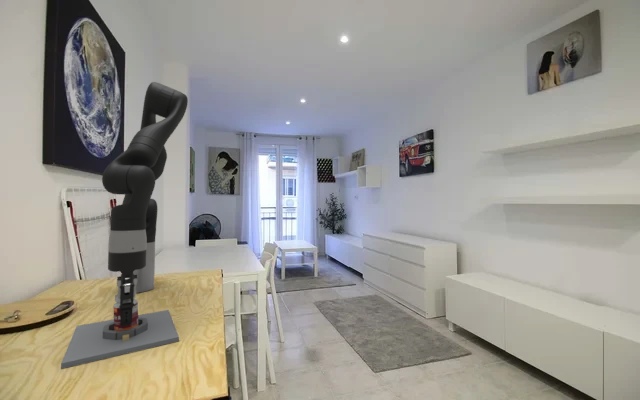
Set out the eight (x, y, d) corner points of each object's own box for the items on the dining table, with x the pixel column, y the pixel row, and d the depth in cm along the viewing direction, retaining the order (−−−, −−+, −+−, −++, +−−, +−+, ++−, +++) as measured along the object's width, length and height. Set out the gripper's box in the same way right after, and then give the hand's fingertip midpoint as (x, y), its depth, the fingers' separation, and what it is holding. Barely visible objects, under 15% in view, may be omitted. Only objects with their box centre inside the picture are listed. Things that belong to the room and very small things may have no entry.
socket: (76, 329, 70) (76, 319, 70) (168, 313, 81) (168, 304, 81) (60, 368, 53) (61, 355, 53) (178, 341, 64) (179, 330, 64)
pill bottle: (109, 333, 65) (107, 297, 65) (125, 324, 70) (124, 290, 70) (127, 333, 64) (126, 296, 65) (143, 324, 69) (141, 290, 69)
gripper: (148, 251, 64) (146, 328, 63) (144, 244, 76) (143, 308, 75) (106, 254, 60) (104, 336, 59) (109, 246, 71) (108, 314, 71)
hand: (126, 320), depth 67 cm, fingers closed on pill bottle, 4 cm apart
